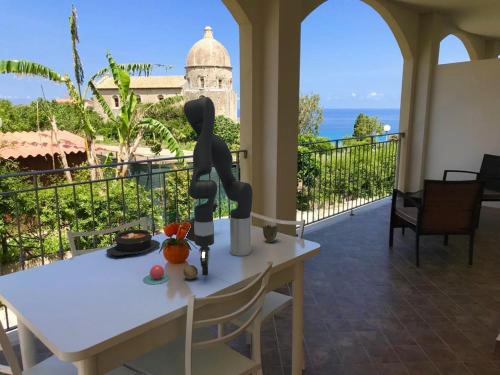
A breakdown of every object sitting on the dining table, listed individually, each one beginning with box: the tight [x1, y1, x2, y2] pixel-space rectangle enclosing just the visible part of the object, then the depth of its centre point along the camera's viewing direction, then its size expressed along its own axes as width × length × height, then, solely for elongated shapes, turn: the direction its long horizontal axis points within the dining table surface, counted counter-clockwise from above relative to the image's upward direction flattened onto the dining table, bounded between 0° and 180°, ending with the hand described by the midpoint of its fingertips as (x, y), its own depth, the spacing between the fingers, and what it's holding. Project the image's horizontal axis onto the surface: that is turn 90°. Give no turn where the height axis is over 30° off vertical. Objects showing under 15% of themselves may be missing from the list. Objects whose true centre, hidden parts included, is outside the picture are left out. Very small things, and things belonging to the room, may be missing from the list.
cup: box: [262, 224, 278, 244], centre depth 192 cm, size 8×7×8 cm
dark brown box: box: [183, 202, 219, 243], centre depth 200 cm, size 16×11×18 cm
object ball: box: [149, 264, 165, 280], centre depth 149 cm, size 6×6×6 cm
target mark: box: [142, 273, 170, 286], centre depth 149 cm, size 10×10×1 cm
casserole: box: [105, 229, 161, 257], centre depth 180 cm, size 25×19×8 cm
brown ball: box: [183, 264, 199, 281], centre depth 149 cm, size 6×6×6 cm
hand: (205, 274), depth 150 cm, fingers closed
